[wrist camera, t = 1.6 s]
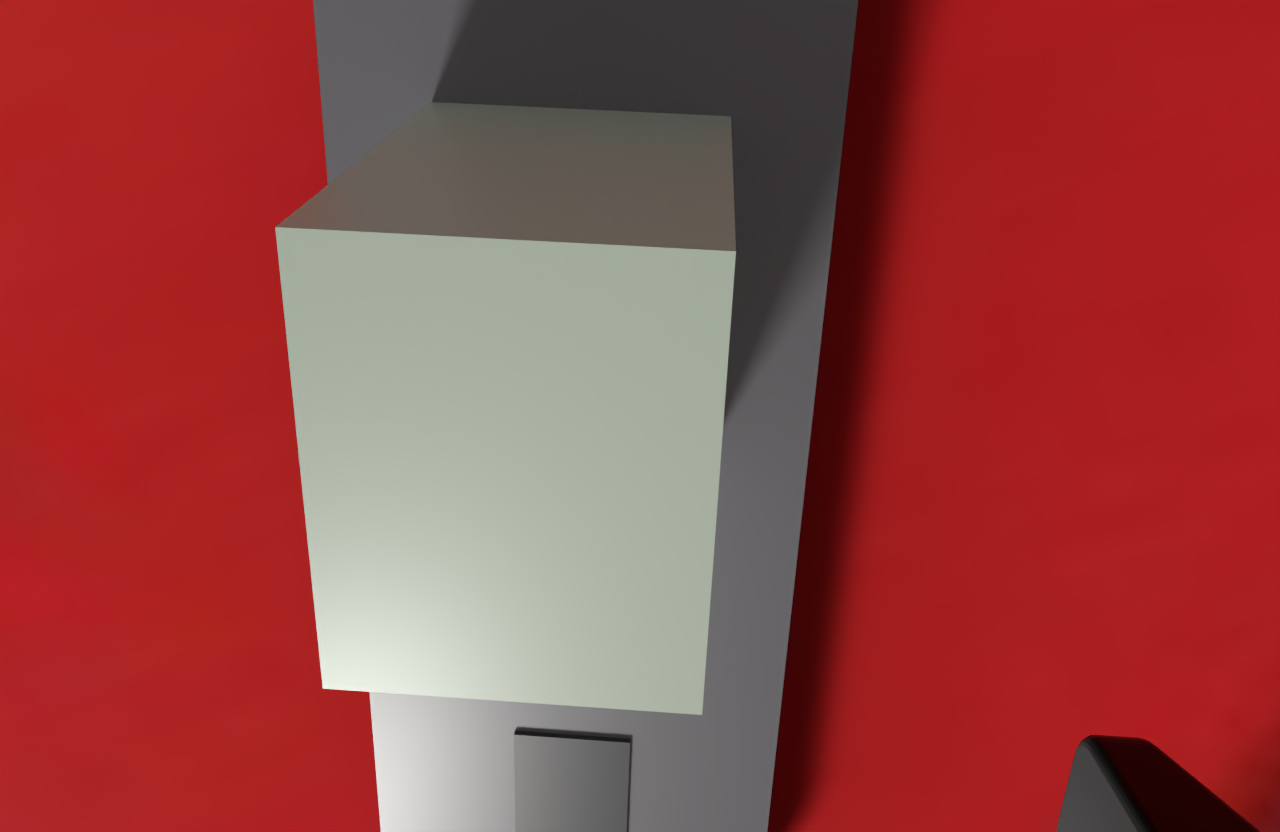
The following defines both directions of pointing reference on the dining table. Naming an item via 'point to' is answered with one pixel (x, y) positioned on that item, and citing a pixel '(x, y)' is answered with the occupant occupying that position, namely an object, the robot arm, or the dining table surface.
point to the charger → (516, 403)
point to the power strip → (754, 402)
